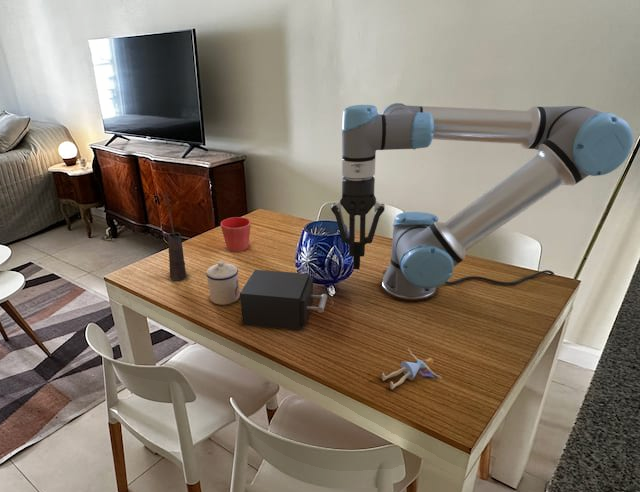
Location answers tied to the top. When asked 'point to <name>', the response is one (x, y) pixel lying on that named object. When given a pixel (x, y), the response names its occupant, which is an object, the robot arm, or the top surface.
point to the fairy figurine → (410, 370)
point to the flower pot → (236, 233)
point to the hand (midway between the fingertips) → (356, 266)
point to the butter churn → (175, 252)
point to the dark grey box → (273, 299)
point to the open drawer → (310, 302)
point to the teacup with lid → (223, 283)
